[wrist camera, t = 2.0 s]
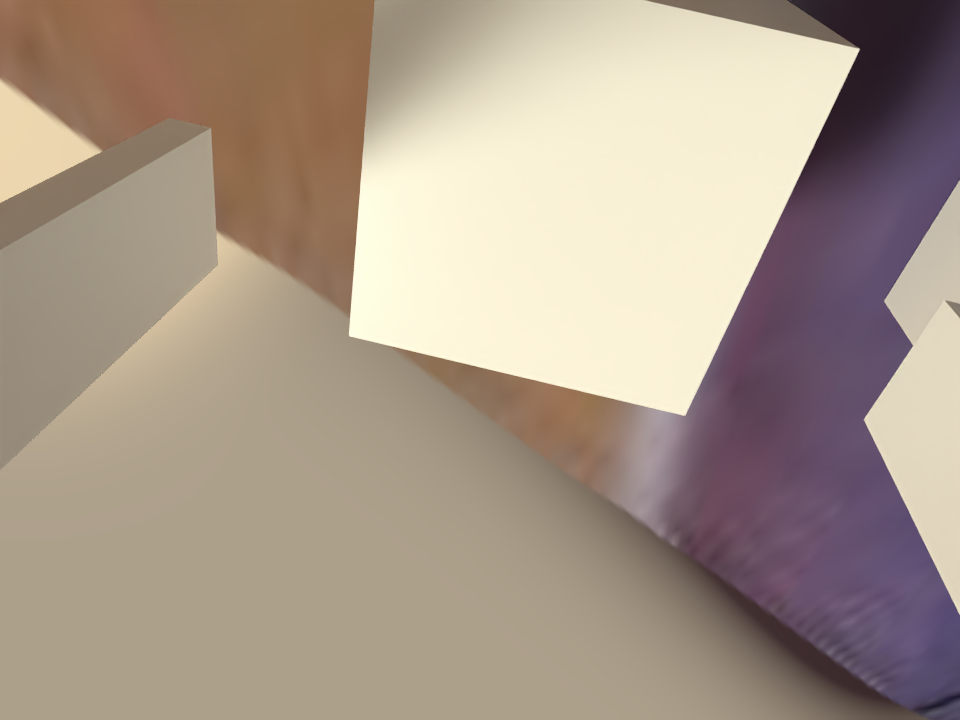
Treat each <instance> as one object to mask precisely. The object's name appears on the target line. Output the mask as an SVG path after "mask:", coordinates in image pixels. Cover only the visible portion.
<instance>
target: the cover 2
mask: <svg viewBox="0 0 960 720" xmlns="http://www.w3.org/2000/svg"><path fill="white" fill-rule="evenodd" d="M944 300H946V301H951V302H955V303H959V304H960V181H959V182H958V184H957V185H956V187H955V189H954V190H953V192H952V193H951V195H950V197H949V198H948V200H947V201H946V203H945V205H944V206H943V208H942V209H941V211H940V213H939V214H938V216H937V217H936V219H935V221H934V222H933V224H932V225H931V227H930V229H929V230H928V232H927V233H926V235H925V237H924V238H923V240H922V241H921V243H920V245H919V246H918V248H917V249H916V251H915V253H914V254H913V256H912V257H911V259H910V260H909V262H908V264H907V265H906V267H905V268H904V270H903V272H902V273H901V275H900V276H899V278H898V280H897V281H896V283H895V284H894V286H893V288H892V289H891V291H890V292H889V294H888V296H887V297H886V299H885V300H884V302H885V303H886V305H887V306H888V308H889V309H890V311H891V313H892V314H893V316H894V317H895V319H896V320H897V322H898V323H899V325H900V326H901V328H902V329H903V331H904V332H905V334H906V335H907V337H908V338H909V340H910V341H911V343H912V344H913V346H914V344H915V343H916V342H917V340H918V339H919V337H920V336H921V334H922V333H923V331H924V330H925V328H926V327H927V325H928V324H929V322H930V321H931V319H932V318H933V316H934V315H935V313H936V312H937V310H938V309H939V307H940V306H941V304H942V303H943V301H944Z"/></svg>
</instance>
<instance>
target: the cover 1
mask: <svg viewBox="0 0 960 720" xmlns="http://www.w3.org/2000/svg"><path fill="white" fill-rule="evenodd" d="M859 50H860V49H859V48H858V47H856V46H855V45H853V44H852V43H850V42H849V41H847V40H846V39H844V38H843V37H841V36H840V35H838V34H837V33H835V32H834V31H832V30H831V29H829V28H828V27H826V26H825V25H823V24H822V23H820V22H819V21H817V20H816V19H814V18H813V17H811V16H810V15H808V14H807V13H805V12H804V11H802V10H801V9H799V8H798V7H796V6H795V5H793V4H792V3H790V2H789V1H787V0H375V5H374V18H373V31H372V44H371V57H370V70H369V83H368V96H367V109H366V122H365V135H364V148H363V161H362V174H361V187H360V199H359V212H358V225H357V238H356V251H355V264H354V277H353V290H352V303H351V316H350V330H349V336H352V337H355V338H360V339H364V340H368V341H372V342H376V343H380V344H385V345H389V346H393V347H397V348H401V349H406V350H410V351H414V352H418V353H423V354H427V355H431V356H435V357H439V358H444V359H448V360H452V361H456V362H460V363H465V364H469V365H473V366H477V367H482V368H486V369H490V370H494V371H498V372H503V373H507V374H511V375H515V376H519V377H524V378H528V379H532V380H536V381H541V382H545V383H549V384H553V385H557V386H562V387H566V388H570V389H574V390H578V391H583V392H587V393H591V394H595V395H599V396H604V397H608V398H612V399H616V400H621V401H625V402H629V403H633V404H637V405H642V406H646V407H650V408H654V409H658V410H663V411H667V412H671V413H675V414H680V415H684V416H685V415H686V413H687V411H688V408H689V406H690V404H691V402H692V400H693V398H694V396H695V394H696V392H697V390H698V387H699V385H700V383H701V381H702V379H703V377H704V375H705V373H706V371H707V369H708V367H709V364H710V362H711V360H712V358H713V356H714V354H715V352H716V350H717V348H718V346H719V343H720V341H721V339H722V337H723V335H724V333H725V331H726V329H727V327H728V325H729V323H730V320H731V318H732V316H733V314H734V312H735V310H736V308H737V306H738V304H739V302H740V299H741V297H742V295H743V293H744V291H745V289H746V287H747V285H748V283H749V281H750V278H751V276H752V274H753V272H754V270H755V268H756V266H757V264H758V262H759V260H760V258H761V255H762V253H763V251H764V249H765V247H766V245H767V243H768V241H769V239H770V237H771V234H772V232H773V230H774V228H775V226H776V224H777V222H778V220H779V218H780V216H781V214H782V211H783V209H784V207H785V205H786V203H787V201H788V199H789V197H790V195H791V193H792V190H793V188H794V186H795V184H796V182H797V180H798V178H799V176H800V174H801V172H802V170H803V167H804V165H805V163H806V161H807V159H808V157H809V155H810V153H811V151H812V149H813V146H814V144H815V142H816V140H817V138H818V136H819V134H820V132H821V130H822V128H823V125H824V123H825V121H826V119H827V117H828V115H829V113H830V111H831V109H832V107H833V105H834V102H835V100H836V98H837V96H838V94H839V92H840V90H841V88H842V86H843V84H844V81H845V79H846V77H847V75H848V73H849V71H850V69H851V67H852V65H853V63H854V61H855V58H856V56H857V54H858V52H859Z"/></svg>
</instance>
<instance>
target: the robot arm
mask: <svg viewBox="0 0 960 720" xmlns="http://www.w3.org/2000/svg"><path fill="white" fill-rule="evenodd" d="M217 265H218V261H217V239H216V219H215V199H214V179H213V158H212V138H211V128H209V127H205V126H201V125H197V124H192V123H188V122H184V121H179V120H175V119H171V118H169V119H167V120H165V121H163V122H161V123H159V124H157V125H155V126H153V127H151V128H149V129H147V130H145V131H143V132H141V133H139V134H137V135H135V136H133V137H131V138H129V139H127V140H125V141H123V142H121V143H119V144H117V145H115V146H113V147H111V148H109V149H107V150H105V151H103V152H101V153H99V154H97V155H95V156H93V157H91V158H89V159H87V160H85V161H83V162H81V163H79V164H77V165H75V166H74V167H71V168H69V169H67V170H65V171H63V172H61V173H59V174H57V175H55V176H53V177H51V178H49V179H47V180H45V181H43V182H41V183H39V184H37V185H35V186H33V187H31V188H29V189H27V190H25V191H23V192H22V193H19V194H17V195H15V196H14V197H11V198H9V199H8V200H5V201H4V202H2V203H0V470H1V468H3V467H4V466H5V465H6V464H7V463H8V462H9V461H10V460H11V459H12V458H13V457H14V456H15V455H17V453H19V451H21V450H22V449H23V448H24V447H25V446H26V445H27V444H28V443H29V442H30V441H31V440H32V439H34V438H35V437H36V435H38V434H39V433H40V432H41V431H42V430H43V429H44V428H45V427H46V426H47V425H48V424H49V423H51V422H52V421H53V420H54V419H55V418H56V417H57V416H58V415H59V414H60V413H61V412H62V411H63V410H64V409H65V408H66V407H67V406H68V405H70V404H71V403H72V402H73V401H74V400H75V399H76V398H77V397H78V396H79V395H80V394H81V393H82V392H83V391H84V390H86V388H88V387H89V386H90V385H91V384H92V383H93V382H94V381H95V380H96V379H97V378H98V377H99V376H100V375H101V374H103V373H104V372H105V371H106V370H107V369H108V368H109V367H110V366H111V365H112V364H113V363H114V362H115V361H116V360H117V359H118V358H119V357H121V356H122V355H123V354H124V353H125V352H126V351H127V350H128V349H129V348H130V347H131V346H132V345H133V344H134V343H135V342H136V341H137V340H139V338H141V337H142V336H143V335H144V334H145V333H146V332H147V331H148V330H149V329H150V328H151V327H152V326H153V325H155V324H156V323H157V322H158V321H159V320H160V319H161V318H162V317H163V316H164V315H165V314H166V313H167V312H168V311H169V310H170V309H172V308H173V307H174V306H175V305H176V304H177V303H178V302H179V301H180V300H181V299H182V298H183V297H184V296H185V295H186V294H187V293H188V292H190V291H191V290H192V289H193V288H194V287H195V286H196V285H197V284H198V283H199V282H200V281H201V280H202V279H203V278H204V277H205V276H207V275H208V274H209V273H210V272H211V271H212V270H213V269H214V268H215V267H216V266H217ZM864 421H865V423H866V425H867V427H868V429H869V431H870V433H871V435H872V437H873V439H874V441H875V443H876V445H877V447H878V449H879V451H880V453H881V455H882V457H883V459H884V462H885V464H886V466H887V468H888V470H889V472H890V474H891V476H892V478H893V480H894V482H895V484H896V486H897V488H898V490H899V492H900V494H901V496H902V498H903V500H904V502H905V504H906V506H907V508H908V510H909V512H910V514H911V516H912V518H913V520H914V523H915V525H916V527H917V529H918V531H919V533H920V535H921V537H922V539H923V541H924V543H925V545H926V547H927V549H928V551H929V553H930V555H931V557H932V559H933V561H934V563H935V565H936V567H937V569H938V571H939V573H940V575H941V577H942V579H943V581H944V583H945V586H946V588H947V590H948V592H949V594H950V596H951V598H952V600H953V602H954V604H955V606H956V608H957V610H958V612H959V614H960V304H959V303H955V302H951V301H946V300H944V301H943V303H942V304H941V306H940V307H939V309H938V310H937V312H936V313H935V315H934V316H933V318H932V319H931V321H930V322H929V324H928V325H927V327H926V328H925V330H924V331H923V333H922V334H921V336H920V337H919V339H918V340H917V342H916V343H915V344H914V346H913V347H912V349H911V350H910V352H909V353H908V355H907V356H906V358H905V359H904V361H903V362H902V364H901V365H900V367H899V368H898V370H897V371H896V373H895V374H894V376H893V377H892V379H891V380H890V382H889V383H888V385H887V386H886V388H885V389H884V391H883V392H882V394H881V395H880V397H879V398H878V399H877V401H876V402H875V404H874V405H873V407H872V408H871V410H870V411H869V413H868V414H867V416H866V417H865V419H864Z"/></svg>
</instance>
